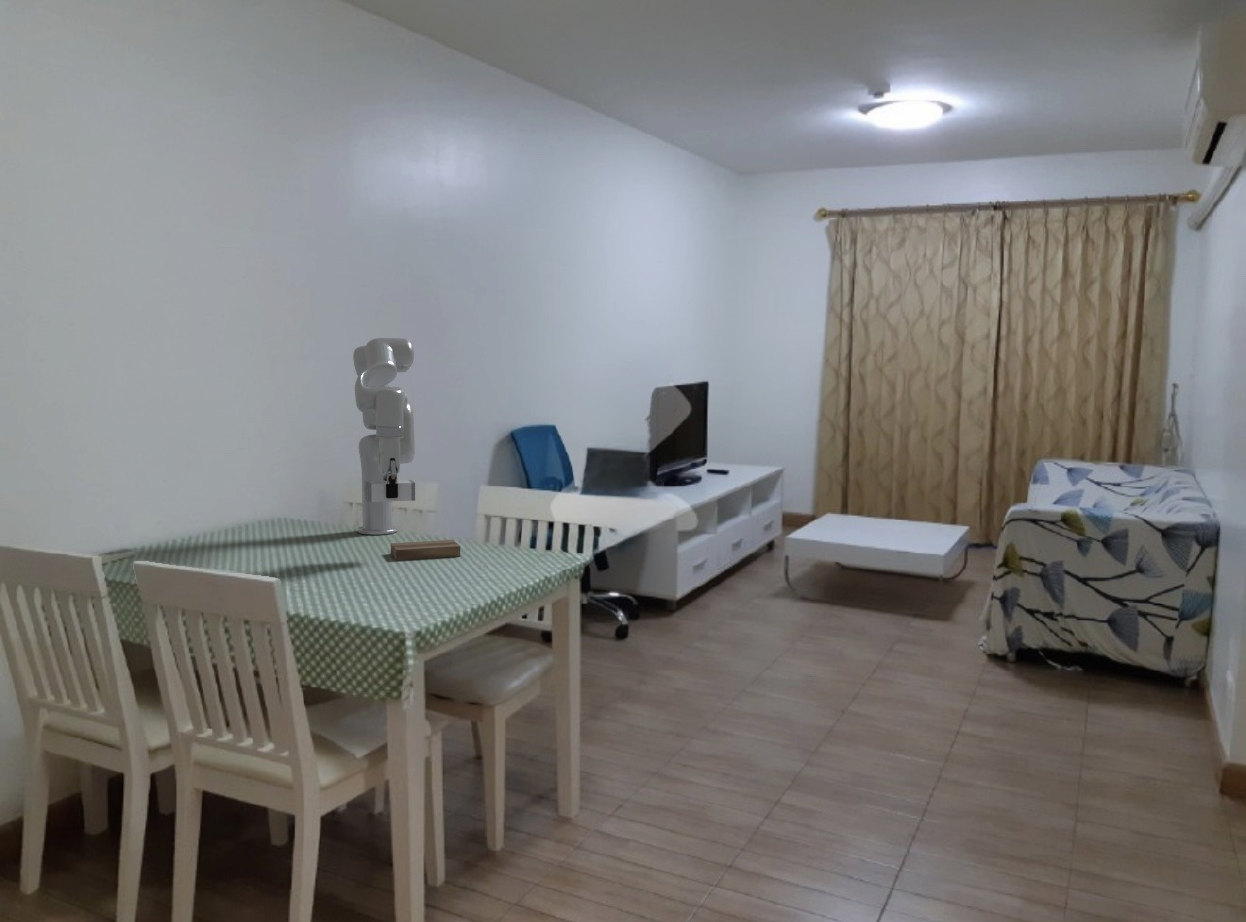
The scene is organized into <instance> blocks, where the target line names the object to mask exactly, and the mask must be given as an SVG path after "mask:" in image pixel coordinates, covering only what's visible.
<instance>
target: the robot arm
mask: <svg viewBox="0 0 1246 922" xmlns="http://www.w3.org/2000/svg"><path fill="white" fill-rule="evenodd" d="M414 359H415V350H414V347H413V344H412V343H411V341H410V340H409V339H407V338H400V337H399V338H397V337H396V338H393V337H377V338H373V339H371V340H369V341H368V342H367V343H366V345H360V346H358V347H356V348H355V349H354V350H353V356H352V360H353V366H354V370H355V372H356V373H355V374H356V375H357V378H356V380H355V384H354V395H355V396H354V398H355V404H356V405H355V406H356V408H357V409H358V410H359V412H361V413H362V421H363V422H362V423H363V426H364V427H365V428H366V429H368V430H371V431H375V434H367V435H365V436H363V437H361V439H360V440H359V442H358V454H359V460H360V467H361V468H360V469H361V500H362V503H361V505H362V506H361V507H362V509H361V510H362V513H361V514H362V516H361V517H362V520H361V521H362V523H361V524H362V525H361V526H360V527H357V533H358V534H362V535H368V536H369V535H372V536H374V535H375V536H376V535H379V536H380V535H391V534H394V533H396V532H398V526H395V525H394V524H393V523H394V521H393V512H394V511H393V510H394V509H393V501H385V502H367V501H366V499H365V481H387V484H386V498H398V484H397V481H398V474H399V473H400V472H401V471H400V470H401V469H400V468H401V464H410V463H412V462H413V460H414V458H415V453H416V452H415V451H416V448H415V444H416V443H415V422H414V419H415V418H414V411H413V407H412V404H411V403H409V402H408V394H407V393H406V392H405V390H404V389H403V388H401V387H399V386H389V385H390V383H392V382H393V381H395V380H396V378H397V375H398V373H406V372H408V371H409V369H410V368H411V367H412V365H413V364H414Z"/></svg>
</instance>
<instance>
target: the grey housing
mask: <svg viewBox="0 0 1246 922" xmlns="http://www.w3.org/2000/svg"><path fill="white" fill-rule="evenodd" d="M386 484H387V481H365V499H366V501H367V502H385V501H392V502H406V501H407V502H408V501H410V502H411V501H412V502H414V501H416V482H415V481H414V480H412V479H405V480H404V479H403V480H401V479H400V480H398V479H397V484H398V498H386Z"/></svg>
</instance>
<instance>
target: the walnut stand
mask: <svg viewBox="0 0 1246 922" xmlns="http://www.w3.org/2000/svg"><path fill="white" fill-rule="evenodd" d="M390 555H391V556H392V557H393V558H394V559H395V561H408V560H409V561H413V560H422V559H423V560H427V559H441V558H443V559H445V558H457V557H461V545H460V544H458V543H457V542H456V541H454V540H453V539H449V540H448V539H444V540H426V541H411V542H408V541H407V542H394V543H393V542H392V543H390Z"/></svg>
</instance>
